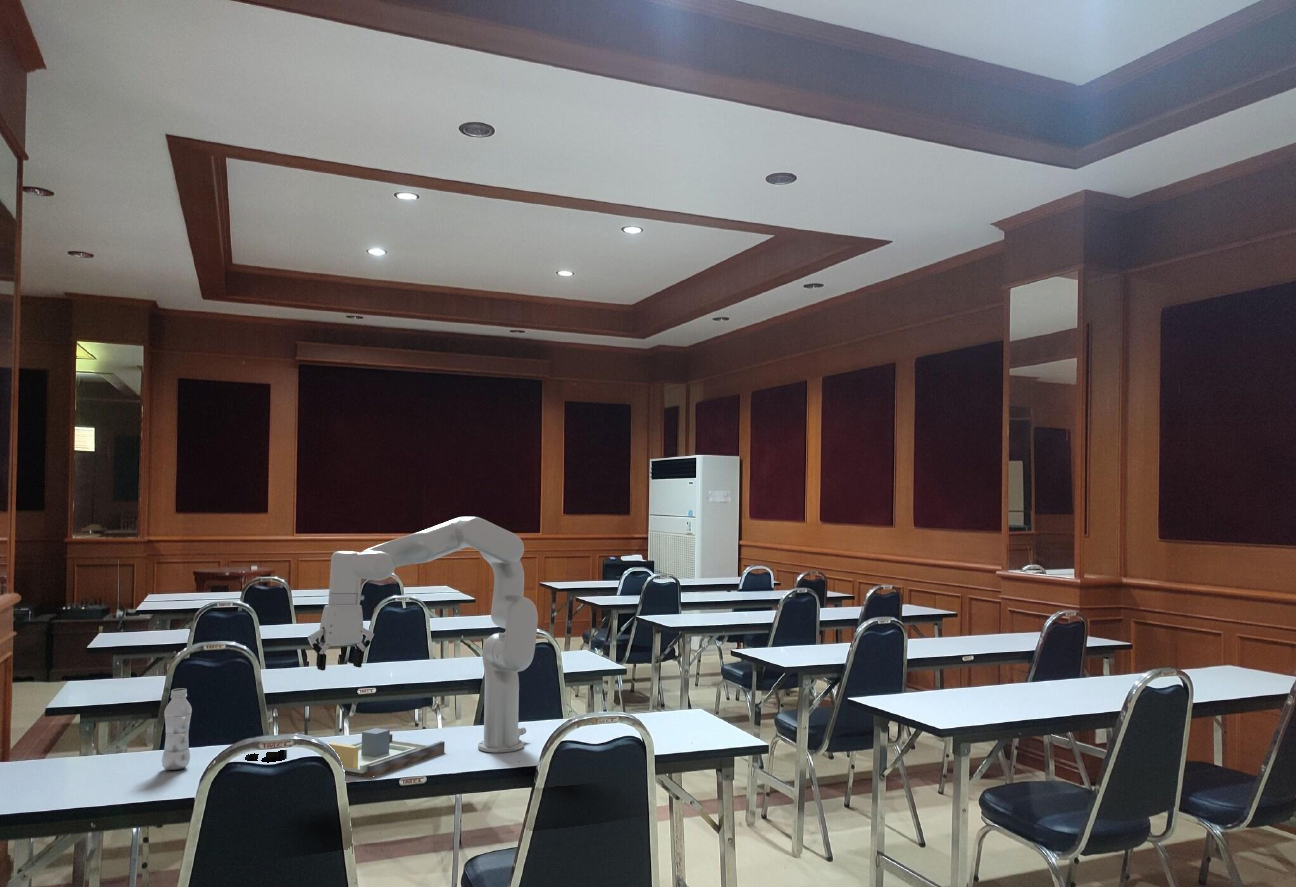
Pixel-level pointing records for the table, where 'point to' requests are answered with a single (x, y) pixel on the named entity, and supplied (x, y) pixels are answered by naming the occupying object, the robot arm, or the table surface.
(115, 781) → the table surface
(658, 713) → the table surface
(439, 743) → the guide base
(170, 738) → the plastic bottle
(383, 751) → the slate block
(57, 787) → the table surface
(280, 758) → the end cap
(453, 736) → the table surface
